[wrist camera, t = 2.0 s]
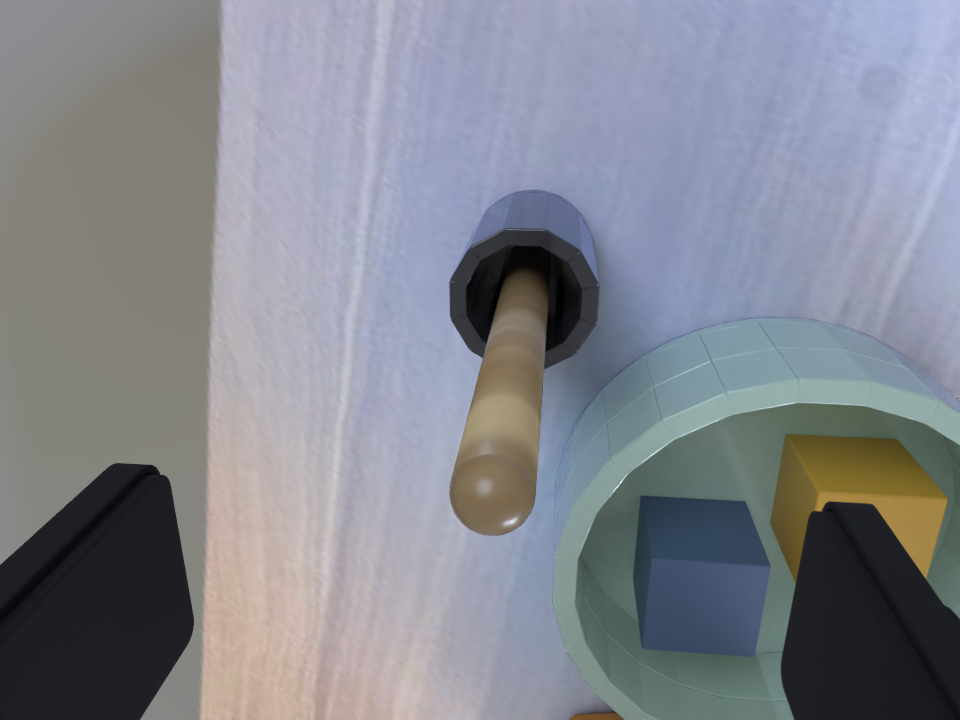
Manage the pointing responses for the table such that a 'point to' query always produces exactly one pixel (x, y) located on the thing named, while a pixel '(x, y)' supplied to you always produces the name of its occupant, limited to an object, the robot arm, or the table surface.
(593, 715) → the coffee package
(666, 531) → the block
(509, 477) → the stick
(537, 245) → the holder
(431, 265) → the table surface
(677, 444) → the bowl
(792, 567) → the block
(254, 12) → the table surface
